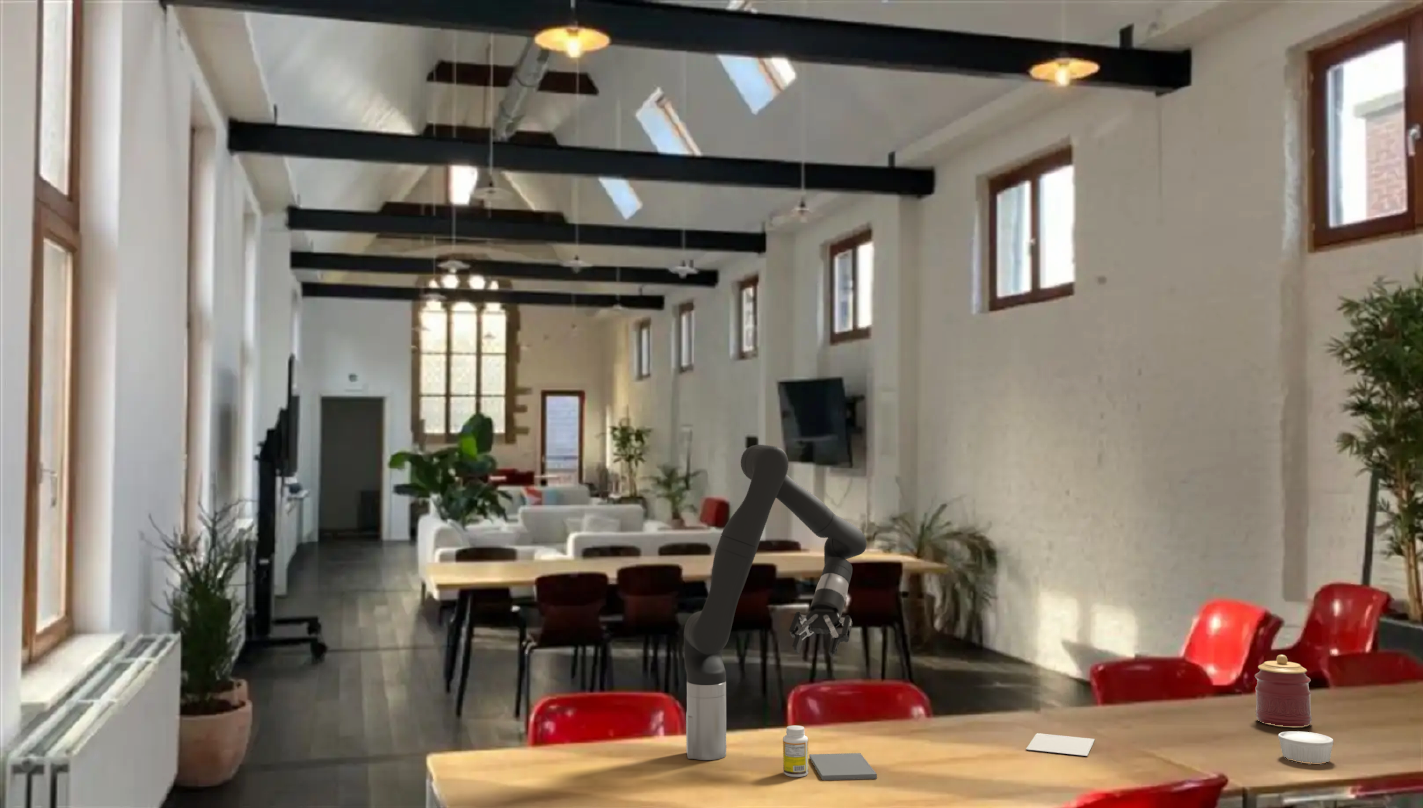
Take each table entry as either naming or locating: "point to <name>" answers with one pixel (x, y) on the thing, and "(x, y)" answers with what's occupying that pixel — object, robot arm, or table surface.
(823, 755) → the mat
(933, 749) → the table surface
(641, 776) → the table surface
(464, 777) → the table surface
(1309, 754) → the ramekin
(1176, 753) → the table surface
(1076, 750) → the paper stack
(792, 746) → the supplement bottle
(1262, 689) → the canister
